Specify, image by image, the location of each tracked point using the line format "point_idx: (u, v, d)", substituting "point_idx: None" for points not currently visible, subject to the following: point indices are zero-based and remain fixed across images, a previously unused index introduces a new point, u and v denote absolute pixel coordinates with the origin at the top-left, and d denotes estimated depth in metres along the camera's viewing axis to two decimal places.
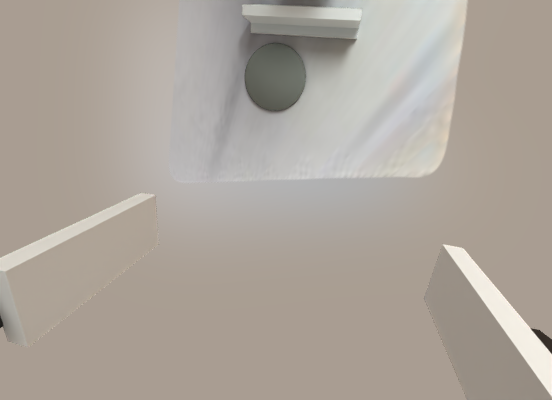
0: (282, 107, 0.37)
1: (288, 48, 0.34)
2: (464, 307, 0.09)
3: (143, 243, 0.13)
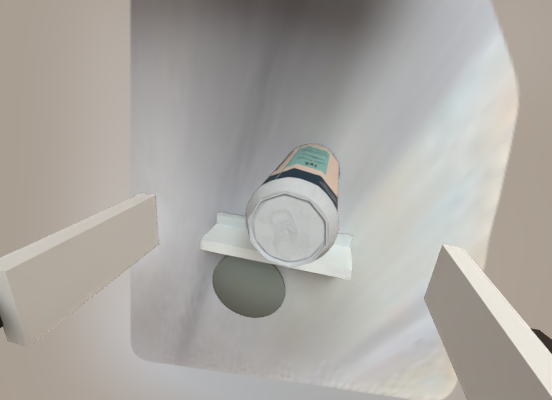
0: (258, 315, 0.31)
1: (263, 262, 0.28)
2: (464, 307, 0.09)
3: (143, 243, 0.13)
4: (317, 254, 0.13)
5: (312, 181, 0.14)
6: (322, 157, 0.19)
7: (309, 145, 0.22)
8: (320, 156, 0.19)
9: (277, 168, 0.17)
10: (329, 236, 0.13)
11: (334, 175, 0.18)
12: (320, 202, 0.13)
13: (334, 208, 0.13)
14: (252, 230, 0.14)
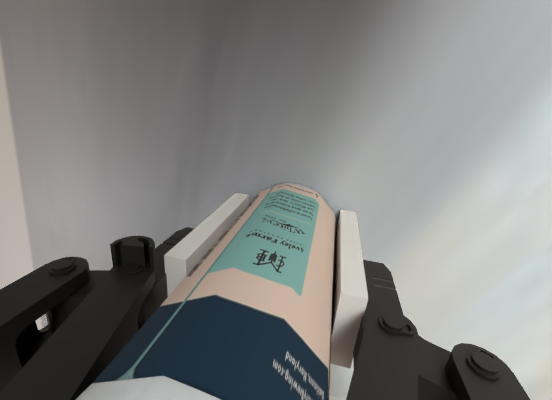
0: None
1: None
2: (337, 251, 0.11)
3: None
4: None
5: (247, 376, 0.04)
6: (302, 222, 0.10)
7: (284, 188, 0.13)
8: (299, 220, 0.10)
9: (199, 263, 0.08)
10: None
11: (325, 266, 0.09)
12: None
13: None
14: None
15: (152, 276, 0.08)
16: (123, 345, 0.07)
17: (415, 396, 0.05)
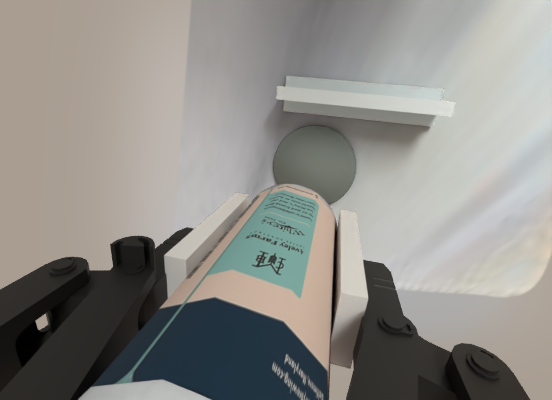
0: None
1: (334, 133, 0.25)
2: (337, 251, 0.11)
3: None
4: None
5: (246, 380, 0.04)
6: (302, 224, 0.10)
7: (284, 189, 0.13)
8: (298, 221, 0.10)
9: (198, 265, 0.08)
10: None
11: (324, 268, 0.09)
12: None
13: None
14: None
15: (152, 276, 0.08)
16: (123, 345, 0.07)
17: (415, 396, 0.05)
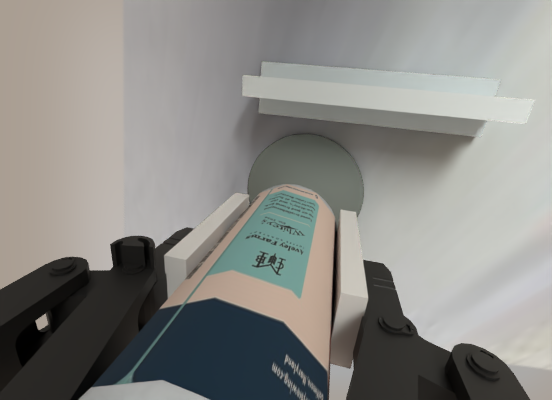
0: None
1: (332, 145, 0.18)
2: (337, 251, 0.11)
3: None
4: None
5: (246, 380, 0.04)
6: (302, 224, 0.10)
7: (284, 189, 0.13)
8: (298, 222, 0.10)
9: (198, 265, 0.08)
10: None
11: (324, 268, 0.09)
12: None
13: None
14: None
15: (152, 276, 0.08)
16: (123, 345, 0.07)
17: (415, 396, 0.05)
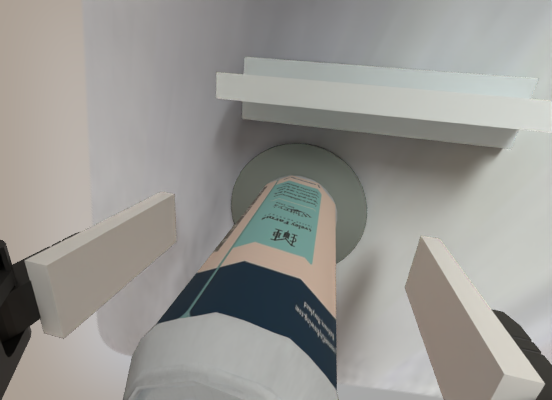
0: None
1: (330, 157, 0.15)
2: (435, 292, 0.10)
3: (163, 240, 0.13)
4: None
5: (277, 315, 0.06)
6: (308, 208, 0.11)
7: (289, 180, 0.14)
8: (305, 206, 0.11)
9: (222, 241, 0.09)
10: None
11: (329, 245, 0.10)
12: (293, 394, 0.05)
13: (330, 392, 0.05)
14: None
15: (9, 278, 0.07)
16: None
17: None
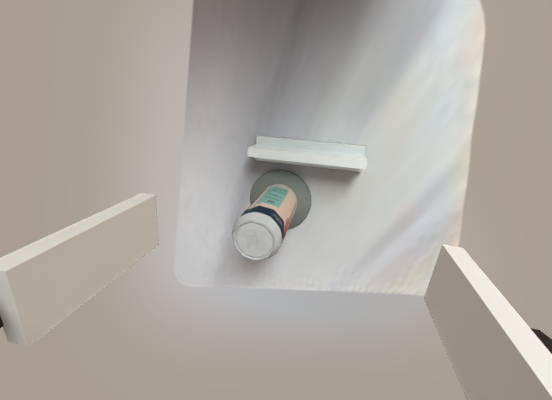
0: (288, 227, 0.37)
1: (293, 176, 0.35)
2: (464, 307, 0.09)
3: (143, 243, 0.13)
4: (270, 252, 0.25)
5: (267, 213, 0.25)
6: (281, 195, 0.31)
7: (275, 185, 0.34)
8: (280, 194, 0.31)
9: (251, 204, 0.29)
10: (275, 243, 0.25)
11: (287, 206, 0.30)
12: (270, 225, 0.25)
13: (278, 228, 0.25)
14: (235, 240, 0.25)
15: None
16: None
17: None
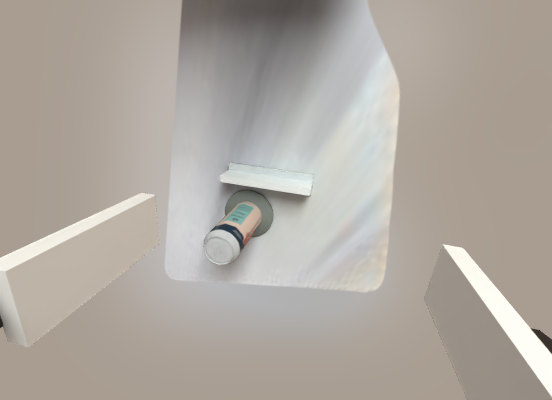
0: (255, 235, 0.46)
1: (258, 195, 0.43)
2: (464, 307, 0.09)
3: (143, 243, 0.13)
4: (230, 259, 0.34)
5: (229, 230, 0.34)
6: (245, 213, 0.40)
7: (244, 203, 0.43)
8: (244, 212, 0.40)
9: (221, 220, 0.38)
10: (234, 252, 0.34)
11: (249, 222, 0.39)
12: (230, 240, 0.33)
13: (237, 241, 0.34)
14: (205, 250, 0.34)
15: None
16: None
17: None
